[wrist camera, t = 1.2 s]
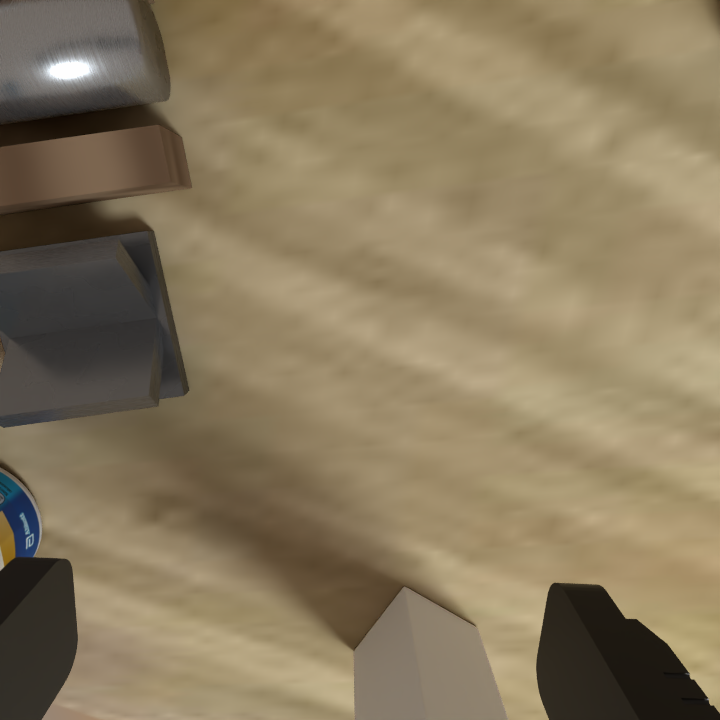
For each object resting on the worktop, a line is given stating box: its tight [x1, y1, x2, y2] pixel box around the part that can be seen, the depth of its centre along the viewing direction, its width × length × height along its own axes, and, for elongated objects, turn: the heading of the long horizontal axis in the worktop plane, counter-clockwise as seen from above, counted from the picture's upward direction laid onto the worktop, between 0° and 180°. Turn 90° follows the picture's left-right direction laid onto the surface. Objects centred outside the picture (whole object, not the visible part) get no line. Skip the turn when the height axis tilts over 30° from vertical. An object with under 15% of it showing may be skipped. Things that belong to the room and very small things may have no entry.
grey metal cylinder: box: [0, 0, 170, 125], centre depth 25 cm, size 12×5×5 cm, turn 98°
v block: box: [0, 231, 189, 428], centre depth 28 cm, size 9×9×4 cm
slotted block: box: [0, 0, 192, 215], centre depth 25 cm, size 14×11×4 cm
